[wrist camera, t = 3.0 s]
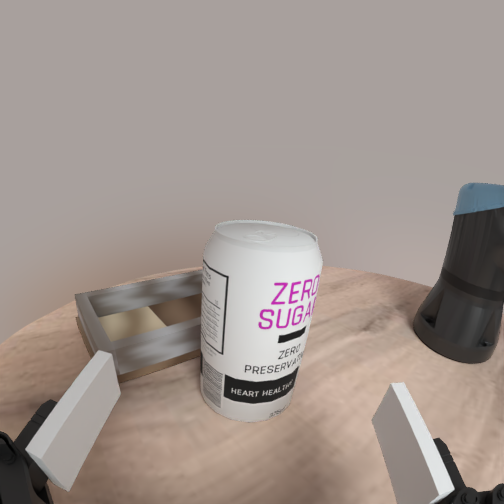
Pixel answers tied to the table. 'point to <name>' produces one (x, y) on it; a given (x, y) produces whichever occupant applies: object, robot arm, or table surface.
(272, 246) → the supplement can
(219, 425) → the table surface
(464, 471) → the table surface
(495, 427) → the table surface
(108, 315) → the rectangular tray
